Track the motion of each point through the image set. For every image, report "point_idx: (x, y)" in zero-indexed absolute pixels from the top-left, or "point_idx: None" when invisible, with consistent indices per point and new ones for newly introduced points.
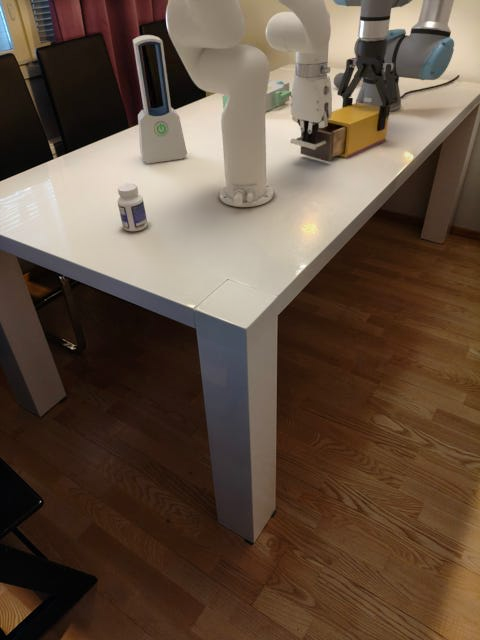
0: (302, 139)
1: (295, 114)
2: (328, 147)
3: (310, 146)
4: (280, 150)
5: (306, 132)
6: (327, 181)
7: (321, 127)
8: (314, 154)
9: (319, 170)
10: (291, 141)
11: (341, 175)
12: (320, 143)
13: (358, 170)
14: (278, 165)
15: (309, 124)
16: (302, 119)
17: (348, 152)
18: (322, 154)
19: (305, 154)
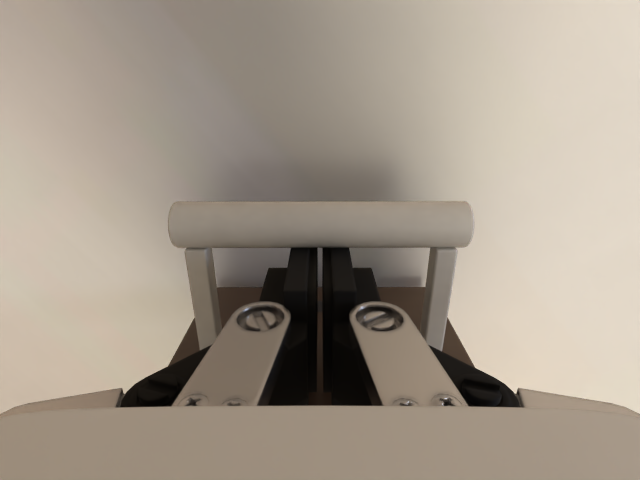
0: (446, 344)
1: (609, 458)
2: (191, 340)
3: (210, 204)
4: (595, 290)
5: (331, 322)
6: (22, 78)
7: (66, 399)
8: (320, 298)
9: (198, 191)
10: (455, 203)
11: (53, 210)
12: (193, 305)
13: (58, 316)
14: (463, 86)
15: (246, 378)
16: (391, 411)
17: None
18: None
19: (390, 289)
